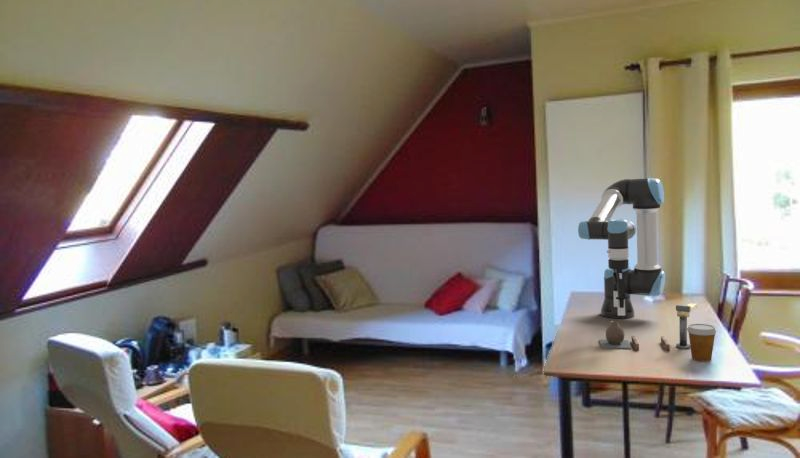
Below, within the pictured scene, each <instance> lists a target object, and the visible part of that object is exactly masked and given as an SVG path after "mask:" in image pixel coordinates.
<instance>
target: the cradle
mask: <svg viewBox="0 0 800 458" xmlns="http://www.w3.org/2000/svg"><path fill="white" fill-rule="evenodd" d="M631 343H632V345H633V347H634V349H635V351H640V344H639V342H638V340H637V338H636V337H635V335H632V336H631ZM660 343H661V345H662V346H663V348H664V349H665V351H666V352H670V351H671V347H670V343H669V342H668V341H667V339H666V338H665V336H660Z"/></svg>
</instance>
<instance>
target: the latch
mask: <svg viewBox="0 0 800 458" xmlns="http://www.w3.org/2000/svg"><path fill="white" fill-rule="evenodd" d="M696 309H697V303H694V302H693V303H691V302H689V304H687V305H684V304H683V305H682V304H676V305H675V311H676V316H677V317H679V318H680V317H687V318H689V317H690V314H691V313H692V312H693V311H694V310H696Z"/></svg>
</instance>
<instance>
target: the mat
mask: <svg viewBox="0 0 800 458" xmlns="http://www.w3.org/2000/svg"><path fill="white" fill-rule="evenodd" d="M598 341H599V345H600V347H601V349H603V350H604V349H608V350H632V346H631V344H630V342H629V340H628V339H623V341H622V343H621V344H618V345H613V344H610V343H609V342H608V341H607V339H599V340H598Z"/></svg>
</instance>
